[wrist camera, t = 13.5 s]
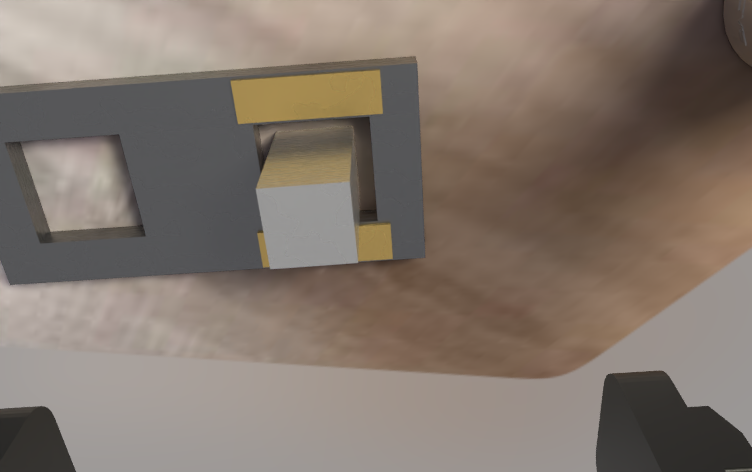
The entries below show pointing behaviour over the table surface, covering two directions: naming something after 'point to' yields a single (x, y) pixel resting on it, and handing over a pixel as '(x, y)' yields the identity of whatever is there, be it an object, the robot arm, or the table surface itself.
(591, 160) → the table surface
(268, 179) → the steel block
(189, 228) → the fixture plate
